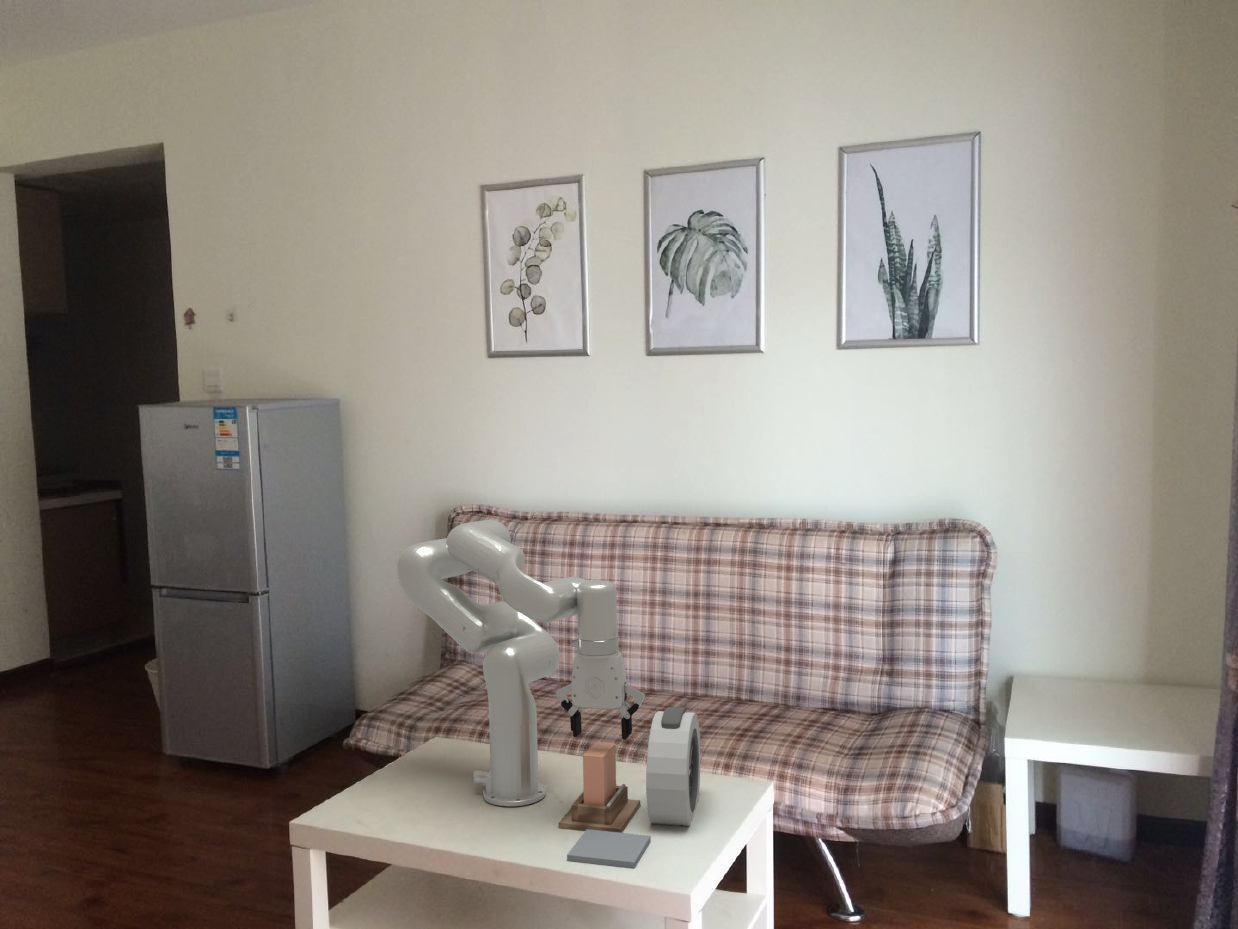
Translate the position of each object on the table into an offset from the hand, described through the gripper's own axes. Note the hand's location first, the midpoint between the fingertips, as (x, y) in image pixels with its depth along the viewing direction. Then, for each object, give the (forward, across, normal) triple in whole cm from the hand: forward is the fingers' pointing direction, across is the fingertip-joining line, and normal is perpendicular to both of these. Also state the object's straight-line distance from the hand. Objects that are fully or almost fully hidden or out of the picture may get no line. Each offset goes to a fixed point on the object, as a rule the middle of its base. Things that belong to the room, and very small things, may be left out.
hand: (601, 736), depth 188 cm
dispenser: (+16, -1, 0) cm, 16 cm away
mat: (+16, +5, -14) cm, 22 cm away
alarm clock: (+16, +12, +6) cm, 21 cm away
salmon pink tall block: (+15, -1, 0) cm, 15 cm away
